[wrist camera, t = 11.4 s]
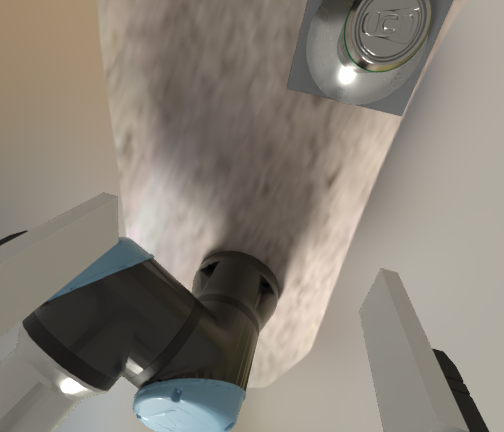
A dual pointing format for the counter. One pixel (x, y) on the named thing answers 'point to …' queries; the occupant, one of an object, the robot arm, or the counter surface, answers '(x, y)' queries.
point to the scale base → (389, 104)
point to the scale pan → (335, 74)
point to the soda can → (383, 34)
